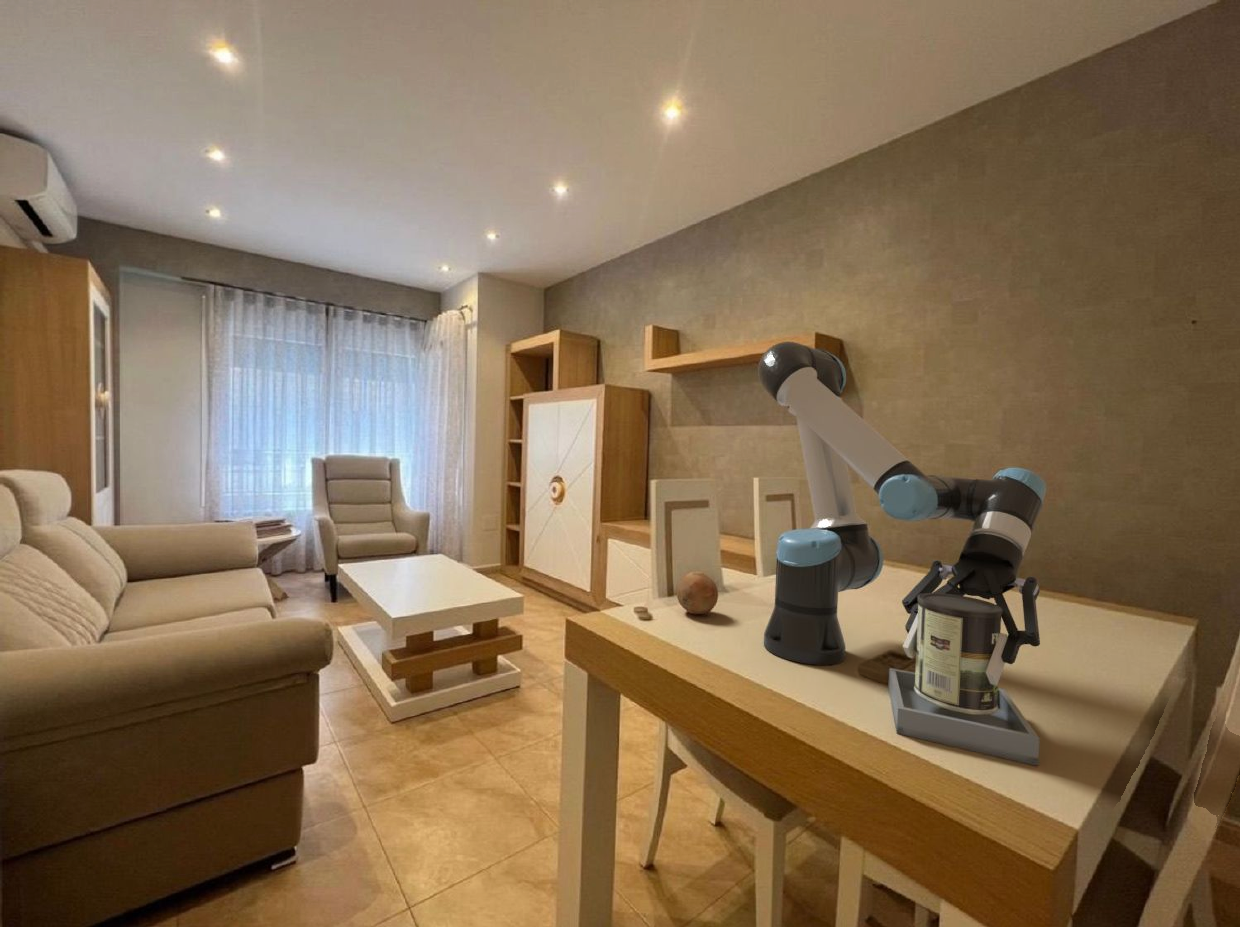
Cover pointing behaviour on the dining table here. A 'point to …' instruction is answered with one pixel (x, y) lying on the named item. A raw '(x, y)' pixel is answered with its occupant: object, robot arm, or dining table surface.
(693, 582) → the onion
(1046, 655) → the dining table surface
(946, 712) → the tray
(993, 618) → the coffee can
